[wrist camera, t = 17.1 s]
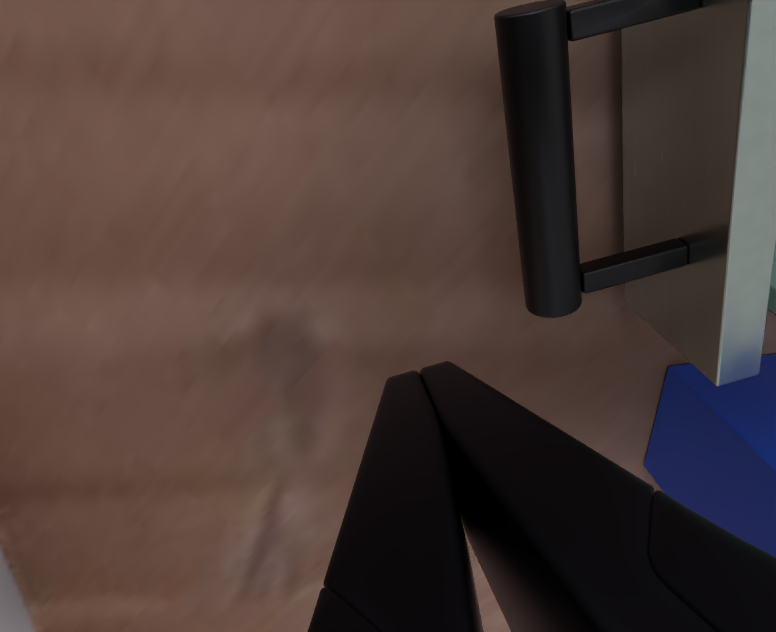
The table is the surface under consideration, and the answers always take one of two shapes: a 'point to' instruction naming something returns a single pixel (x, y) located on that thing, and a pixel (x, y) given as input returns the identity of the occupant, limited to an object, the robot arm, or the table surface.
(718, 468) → the carton
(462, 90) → the table surface
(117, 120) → the table surface
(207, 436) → the table surface
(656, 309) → the drawer
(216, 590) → the table surface
